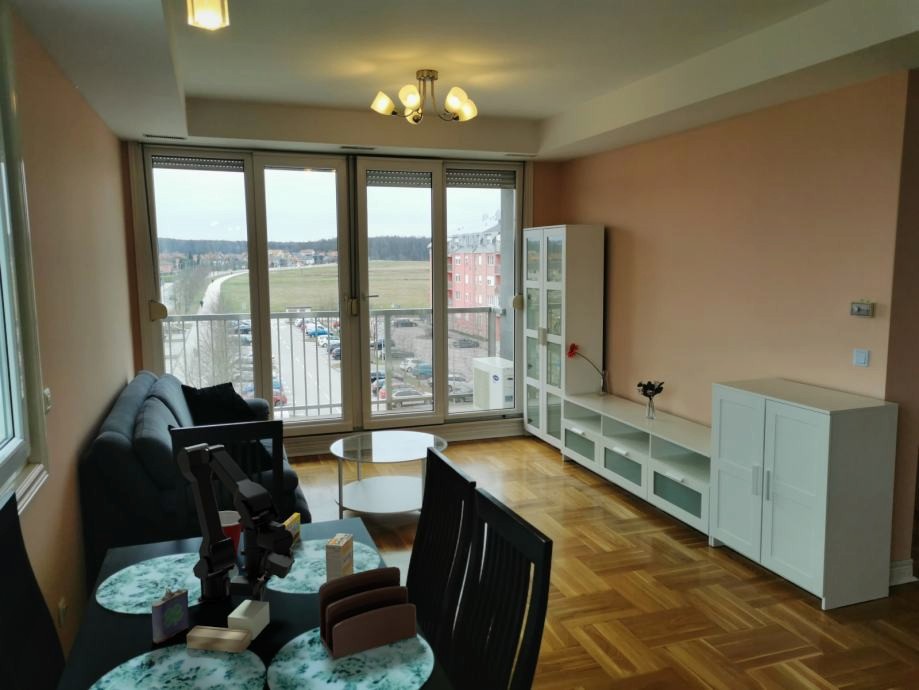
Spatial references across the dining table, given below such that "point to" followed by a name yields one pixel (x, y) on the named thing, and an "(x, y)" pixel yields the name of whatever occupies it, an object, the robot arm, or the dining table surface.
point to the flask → (170, 614)
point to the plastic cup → (231, 526)
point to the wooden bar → (218, 639)
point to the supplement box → (339, 556)
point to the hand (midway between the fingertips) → (258, 605)
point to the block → (250, 617)
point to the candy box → (294, 526)
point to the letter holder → (365, 612)
